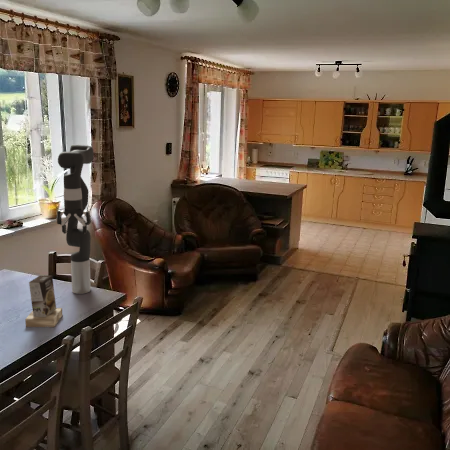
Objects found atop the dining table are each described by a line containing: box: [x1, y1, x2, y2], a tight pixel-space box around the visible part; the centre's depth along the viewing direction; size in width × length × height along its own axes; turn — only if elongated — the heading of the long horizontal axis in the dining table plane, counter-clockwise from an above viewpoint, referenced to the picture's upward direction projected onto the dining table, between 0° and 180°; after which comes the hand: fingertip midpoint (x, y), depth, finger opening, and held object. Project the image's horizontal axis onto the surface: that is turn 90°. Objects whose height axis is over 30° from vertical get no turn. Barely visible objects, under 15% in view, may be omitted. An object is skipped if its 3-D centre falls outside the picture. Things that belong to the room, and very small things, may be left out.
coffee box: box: [28, 275, 57, 317], centre depth 197 cm, size 9×6×16 cm
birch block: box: [25, 307, 63, 328], centre depth 199 cm, size 12×12×4 cm
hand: (74, 233), depth 201 cm, fingers open, 8 cm apart
